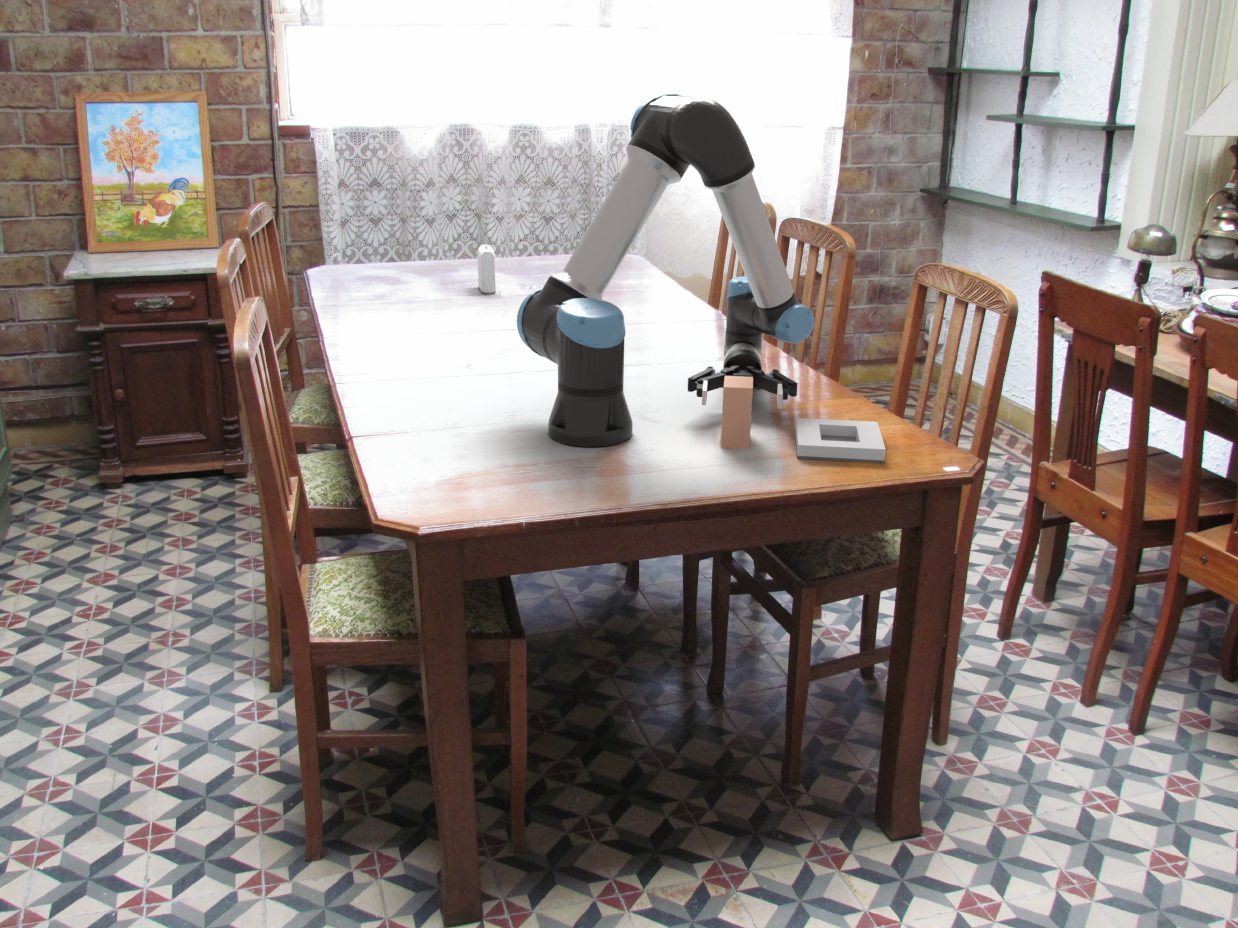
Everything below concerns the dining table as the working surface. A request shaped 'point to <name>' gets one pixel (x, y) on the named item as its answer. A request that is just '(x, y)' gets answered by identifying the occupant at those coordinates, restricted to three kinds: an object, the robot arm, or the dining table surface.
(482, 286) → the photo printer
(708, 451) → the dining table surface
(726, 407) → the peach block
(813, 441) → the pocket plate
